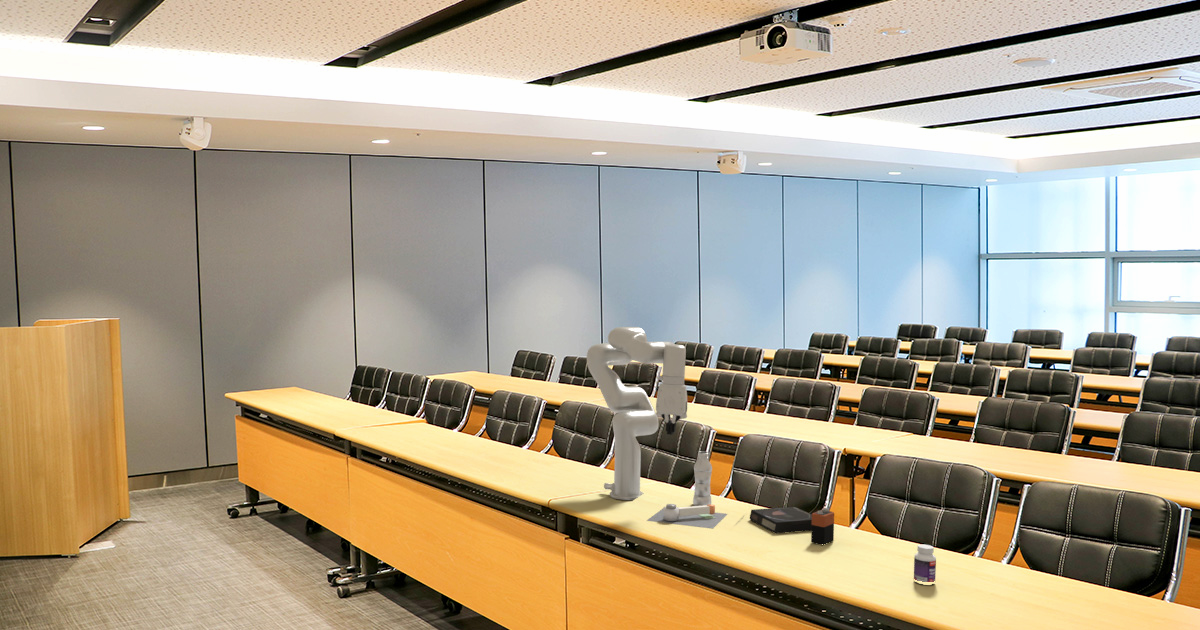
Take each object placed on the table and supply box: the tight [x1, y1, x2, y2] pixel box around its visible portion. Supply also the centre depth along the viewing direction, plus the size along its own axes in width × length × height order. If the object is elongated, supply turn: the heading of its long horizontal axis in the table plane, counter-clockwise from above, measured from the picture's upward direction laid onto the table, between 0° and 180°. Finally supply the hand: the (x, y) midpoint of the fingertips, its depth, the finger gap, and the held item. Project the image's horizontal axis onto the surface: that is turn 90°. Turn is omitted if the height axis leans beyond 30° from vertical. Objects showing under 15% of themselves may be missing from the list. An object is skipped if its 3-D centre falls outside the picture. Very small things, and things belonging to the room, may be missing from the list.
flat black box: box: [749, 506, 813, 534], centre depth 289 cm, size 16×17×4 cm
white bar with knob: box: [662, 503, 716, 521], centre depth 289 cm, size 5×18×5 cm, turn 110°
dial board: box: [646, 508, 728, 529], centre depth 291 cm, size 22×20×2 cm
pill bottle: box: [913, 543, 937, 582], centre depth 234 cm, size 5×5×10 cm
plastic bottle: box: [692, 450, 713, 506], centre depth 307 cm, size 6×7×20 cm
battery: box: [810, 507, 835, 546], centre depth 270 cm, size 4×7×10 cm, turn 138°
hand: (670, 433), depth 302 cm, fingers closed
